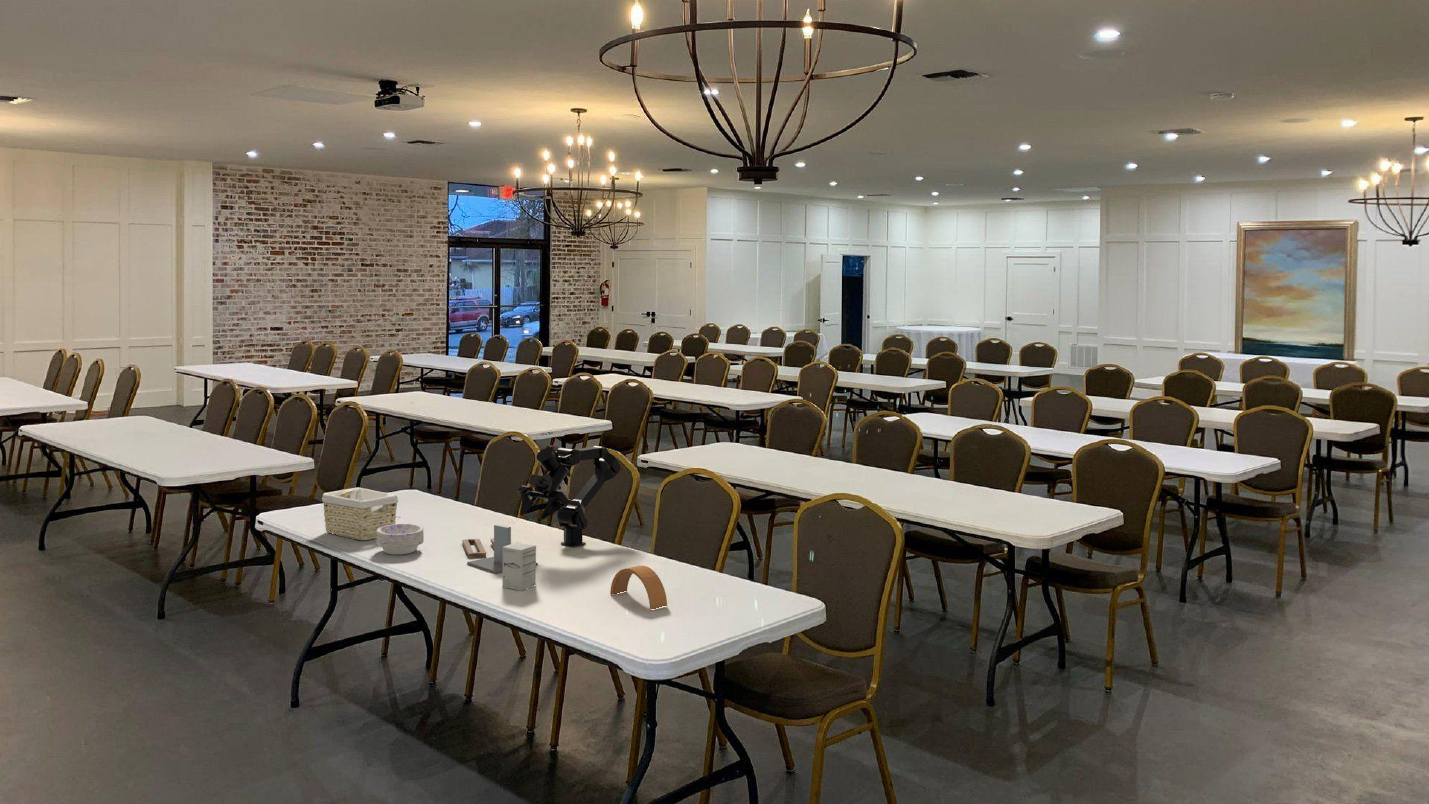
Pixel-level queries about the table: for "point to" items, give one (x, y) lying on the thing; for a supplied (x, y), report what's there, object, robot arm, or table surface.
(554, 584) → the table surface
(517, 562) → the supplement box
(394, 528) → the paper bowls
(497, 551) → the tall grey pillar
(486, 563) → the pad
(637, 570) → the arch
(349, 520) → the storage basket
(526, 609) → the table surface
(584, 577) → the table surface
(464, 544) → the frame
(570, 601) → the table surface
